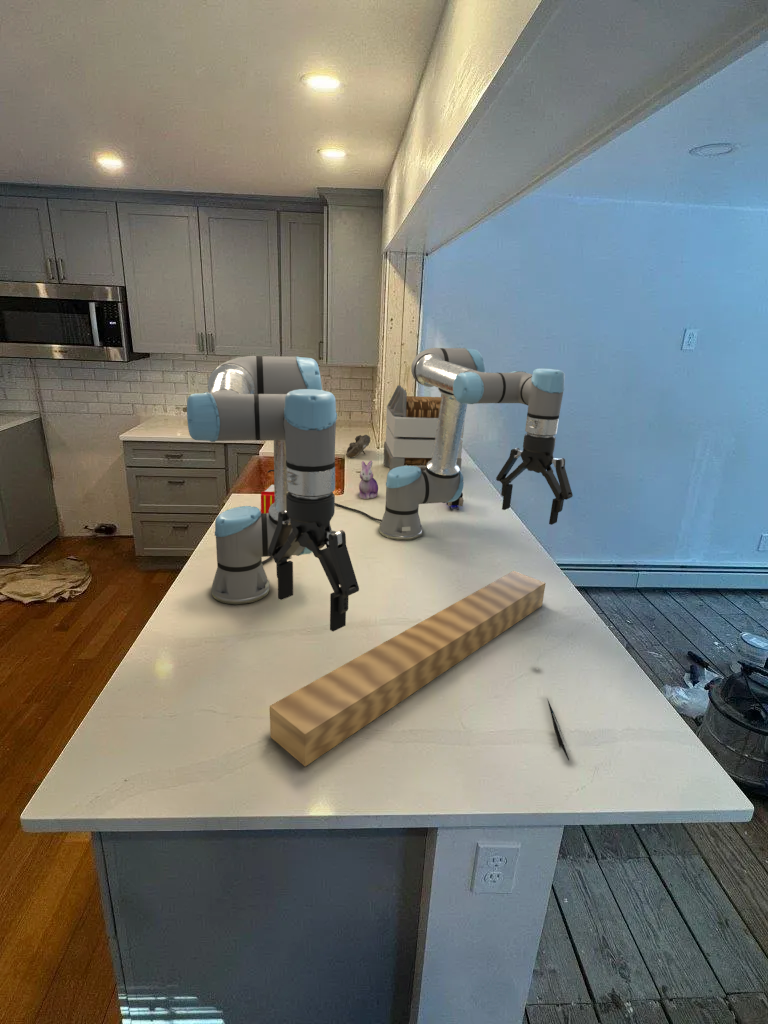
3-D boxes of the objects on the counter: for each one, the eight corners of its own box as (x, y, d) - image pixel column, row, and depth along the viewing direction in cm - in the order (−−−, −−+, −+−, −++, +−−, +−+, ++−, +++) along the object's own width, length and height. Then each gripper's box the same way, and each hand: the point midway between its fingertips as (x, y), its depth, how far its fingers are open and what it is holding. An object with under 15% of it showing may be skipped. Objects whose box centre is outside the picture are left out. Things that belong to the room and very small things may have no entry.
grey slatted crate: (382, 463, 289) (386, 382, 275) (445, 464, 293) (451, 384, 279) (390, 482, 257) (394, 392, 243) (460, 483, 261) (468, 394, 247)
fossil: (346, 440, 314) (367, 425, 309) (357, 454, 317) (378, 439, 312) (340, 454, 295) (362, 438, 290) (351, 468, 298) (374, 453, 293)
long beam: (510, 592, 161) (513, 570, 159) (542, 605, 155) (545, 582, 153) (270, 737, 104) (269, 705, 101) (305, 766, 97) (304, 734, 95)
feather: (537, 674, 127) (543, 668, 127) (569, 765, 101) (576, 758, 100) (531, 670, 127) (536, 664, 126) (561, 760, 100) (568, 753, 100)
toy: (300, 480, 222) (290, 493, 193) (300, 513, 225) (290, 531, 196) (269, 479, 222) (255, 492, 193) (270, 512, 225) (255, 530, 195)
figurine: (363, 500, 232) (364, 465, 227) (352, 493, 240) (353, 459, 235) (383, 498, 236) (385, 463, 231) (372, 491, 244) (373, 457, 239)
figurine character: (463, 515, 225) (458, 499, 238) (465, 497, 221) (460, 482, 235) (446, 514, 224) (442, 498, 238) (448, 497, 221) (444, 482, 235)
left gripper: (244, 477, 93) (249, 592, 101) (347, 519, 78) (344, 651, 85) (281, 470, 99) (283, 579, 106) (385, 507, 83) (379, 633, 90)
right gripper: (488, 427, 144) (479, 506, 151) (581, 446, 128) (567, 533, 135) (504, 423, 149) (495, 500, 156) (596, 442, 133) (581, 526, 140)
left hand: (310, 611), depth 95 cm, fingers open, 13 cm apart
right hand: (528, 515), depth 146 cm, fingers open, 13 cm apart
